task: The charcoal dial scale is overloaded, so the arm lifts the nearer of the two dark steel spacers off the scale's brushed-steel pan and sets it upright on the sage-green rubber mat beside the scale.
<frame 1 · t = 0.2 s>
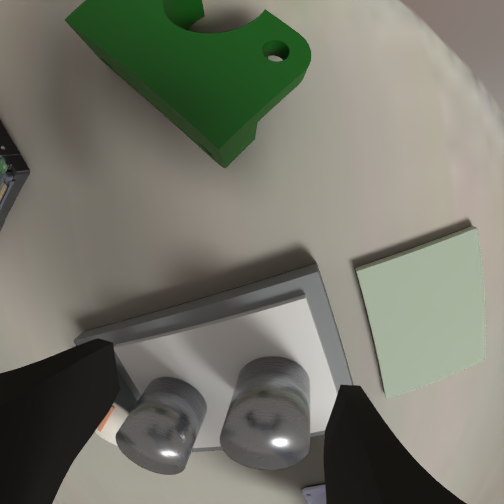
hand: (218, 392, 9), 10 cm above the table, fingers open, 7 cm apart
clamp: (202, 65, 16), on the table
spacer a: (273, 385, 18), point 2 cm above the table, touching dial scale
spacer b: (176, 401, 20), point 2 cm above the table, touching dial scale
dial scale: (214, 379, 21), on the table
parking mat: (430, 318, 18), on the table
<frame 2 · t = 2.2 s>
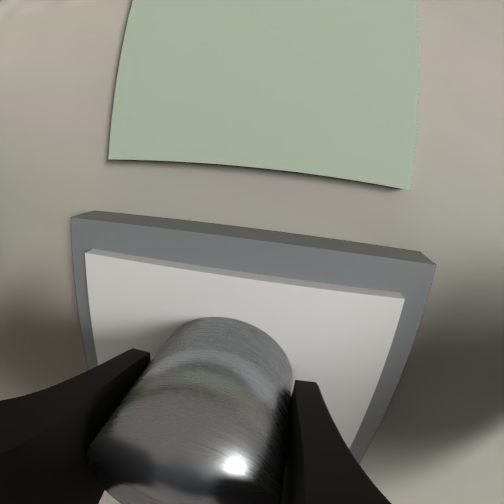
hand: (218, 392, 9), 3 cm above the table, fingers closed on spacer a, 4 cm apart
spacer a: (224, 375, 10), point 2 cm above the table, touching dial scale, gripper
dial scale: (229, 423, 13), on the table
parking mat: (264, 50, 9), on the table
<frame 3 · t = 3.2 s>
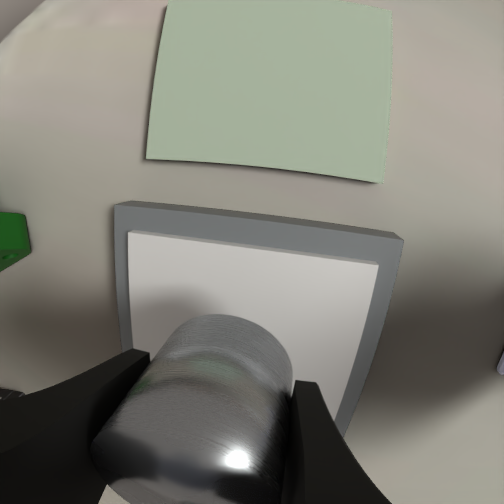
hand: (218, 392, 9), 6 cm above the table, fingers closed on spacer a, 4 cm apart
spacer a: (225, 372, 10), point 5 cm above the table, touching gripper
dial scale: (239, 383, 16), on the table
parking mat: (271, 75, 12), on the table
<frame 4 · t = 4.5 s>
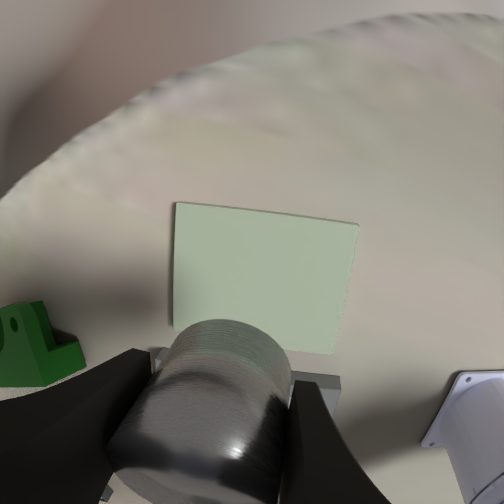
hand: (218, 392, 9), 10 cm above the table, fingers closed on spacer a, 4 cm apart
clamp: (39, 330, 23), on the table
spacer a: (228, 372, 11), point 8 cm above the table, touching gripper
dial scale: (239, 447, 23), on the table
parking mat: (259, 280, 18), on the table
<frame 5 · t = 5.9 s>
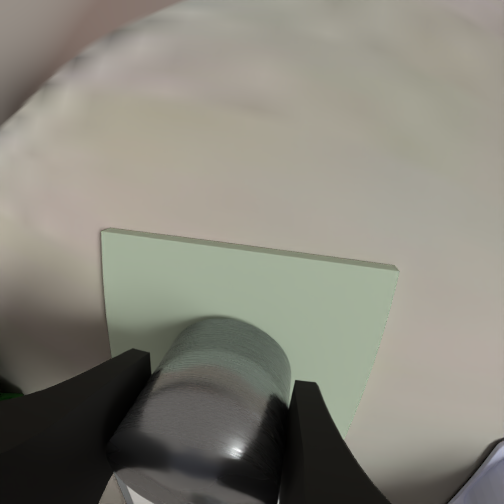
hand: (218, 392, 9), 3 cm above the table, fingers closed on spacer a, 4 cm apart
spacer a: (228, 372, 11), point 1 cm above the table, touching gripper
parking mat: (234, 350, 11), on the table
when the fingers open (2 cm above the table, at t = 6.8 s): spacer a stays where it is, resting on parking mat.
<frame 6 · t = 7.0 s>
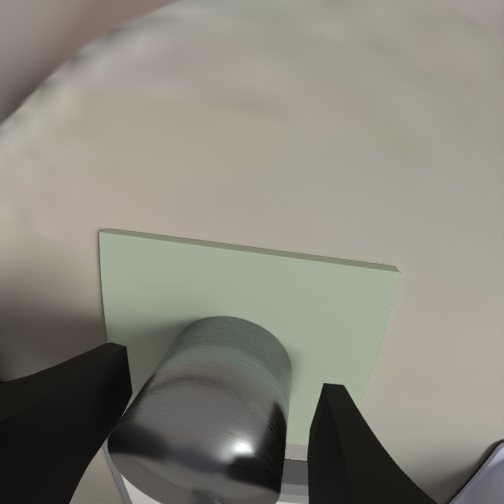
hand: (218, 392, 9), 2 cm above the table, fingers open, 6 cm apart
spacer a: (229, 370, 11), point 1 cm above the table, touching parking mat
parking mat: (233, 351, 11), on the table
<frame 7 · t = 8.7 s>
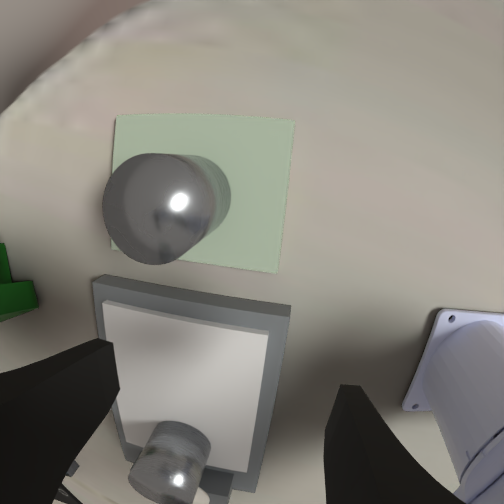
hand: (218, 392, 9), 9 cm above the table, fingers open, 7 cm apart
clamp: (2, 277, 22), on the table
cell phone: (41, 479, 35), on the table
spacer a: (190, 196, 17), point 1 cm above the table, touching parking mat
spacer b: (182, 440, 20), point 2 cm above the table, touching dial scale
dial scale: (189, 401, 21), on the table
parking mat: (194, 187, 17), on the table
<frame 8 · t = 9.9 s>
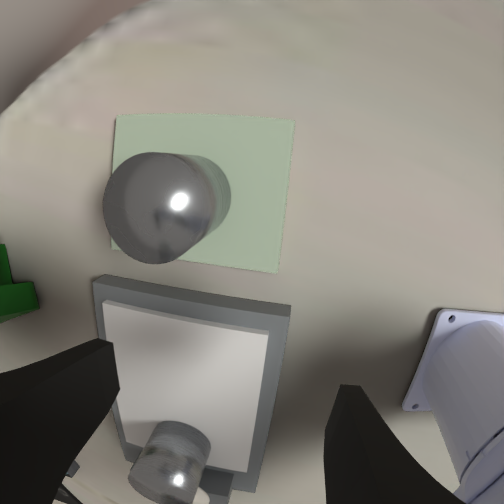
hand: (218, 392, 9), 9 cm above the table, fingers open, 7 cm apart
clamp: (2, 278, 22), on the table
cell phone: (41, 479, 35), on the table
spacer a: (190, 196, 17), point 1 cm above the table, touching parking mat
spacer b: (182, 440, 20), point 2 cm above the table, touching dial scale
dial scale: (189, 401, 21), on the table
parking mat: (194, 187, 17), on the table
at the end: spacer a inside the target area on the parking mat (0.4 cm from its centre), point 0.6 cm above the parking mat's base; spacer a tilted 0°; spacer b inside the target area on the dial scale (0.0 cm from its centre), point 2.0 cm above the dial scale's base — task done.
